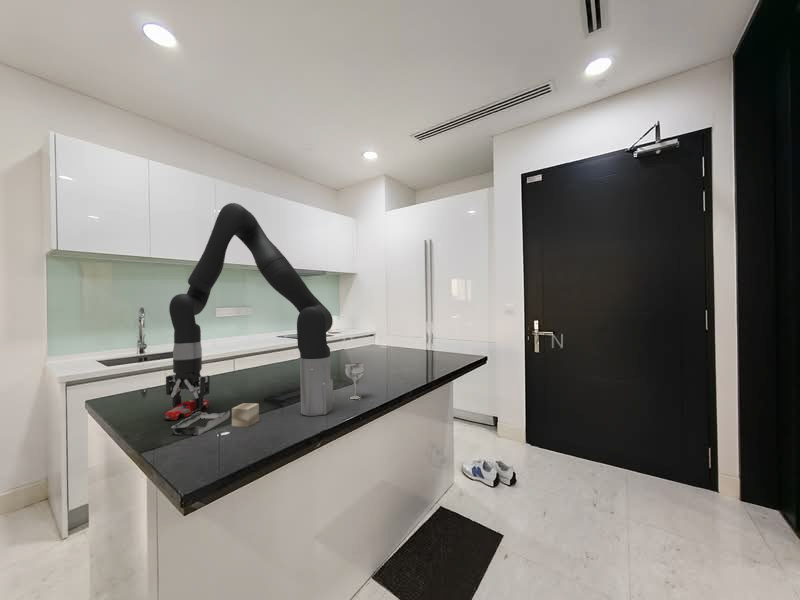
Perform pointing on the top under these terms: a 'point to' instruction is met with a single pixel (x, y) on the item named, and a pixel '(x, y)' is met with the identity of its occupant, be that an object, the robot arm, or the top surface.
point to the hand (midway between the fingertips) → (187, 408)
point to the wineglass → (354, 374)
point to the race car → (185, 410)
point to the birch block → (245, 414)
